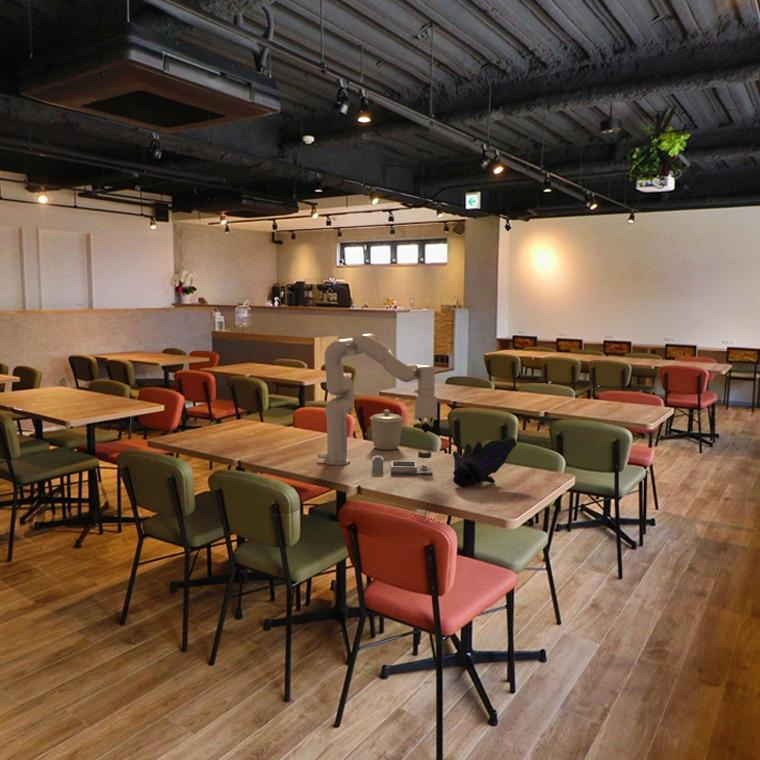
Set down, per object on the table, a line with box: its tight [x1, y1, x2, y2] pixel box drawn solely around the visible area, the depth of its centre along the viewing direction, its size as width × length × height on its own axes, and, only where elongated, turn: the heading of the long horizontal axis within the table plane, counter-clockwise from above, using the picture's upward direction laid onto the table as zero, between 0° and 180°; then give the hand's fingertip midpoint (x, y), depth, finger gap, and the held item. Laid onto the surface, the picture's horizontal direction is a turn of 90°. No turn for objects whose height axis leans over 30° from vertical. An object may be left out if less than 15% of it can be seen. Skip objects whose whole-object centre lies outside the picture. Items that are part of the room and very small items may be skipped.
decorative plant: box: [452, 437, 518, 488], centre depth 275 cm, size 21×26×30 cm
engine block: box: [371, 455, 384, 474], centre depth 292 cm, size 5×6×7 cm
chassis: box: [390, 460, 434, 477], centre depth 291 cm, size 19×12×4 cm, turn 90°
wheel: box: [417, 450, 432, 459], centre depth 291 cm, size 6×6×2 cm
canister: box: [369, 409, 405, 451], centre depth 336 cm, size 18×18×21 cm
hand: (425, 432), depth 289 cm, fingers closed
